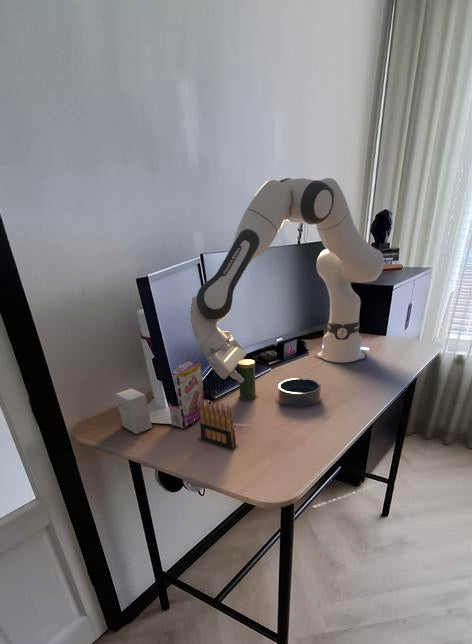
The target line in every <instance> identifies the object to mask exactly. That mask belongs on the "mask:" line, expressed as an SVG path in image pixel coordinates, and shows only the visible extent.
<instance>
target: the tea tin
mask: <svg viewBox="0 0 472 644" xmlns="http://www.w3.org/2000/svg"><path fill="white" fill-rule="evenodd" d="M244 359H245V358H244ZM237 367H238V368H237V369H238V374H240V375H242V376H243V377H244V378H245V380H244V381H243V382H242V383H239V382H238V386H239V398H240V399H241V400H245V401H248V400H254V399H255V398H256V396H257V395H256V361H255V360H254V359H250V358H249V359H247V358H246V359H245V360H240V361H239V362H238V365H237Z"/></svg>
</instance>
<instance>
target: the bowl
mask: <svg viewBox="0 0 472 644" xmlns="http://www.w3.org/2000/svg"><path fill="white" fill-rule="evenodd" d="M277 389H278V390H277V392H278V393H277V401H278V402H279V403H280V405H282V406H286V407H289V408H297V409H300V408H302V409H303V408H309V407H312V406H315V405H317V404H319V403H320V400H321V389H322V384H321V383H320V382H319V381H317V380H314V379H312V378H311V379H310V378H301V377H300V378H299V377H298V378H297V377H296V378H289V379H285V380H283V381H281V382H280V383H278V386H277Z"/></svg>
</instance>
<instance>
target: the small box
mask: <svg viewBox="0 0 472 644" xmlns="http://www.w3.org/2000/svg"><path fill="white" fill-rule="evenodd" d="M115 399H116V404H117V407H118V411H119V416H120V419H121V423H122V427H124V428H125V429H127V430H128V431H130V432H132V433H133V434H135V435H138V434H141V433H143V432H145V431H148V430H150V429H152V428H153V424H152V420H151V415H150V410H149V405H148V400H147V395H146V394H145V393H142V392H141V391H138V390H136V389H134V388H129V389H126V390H123V391H120V392H116V393H115Z"/></svg>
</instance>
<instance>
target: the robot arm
mask: <svg viewBox="0 0 472 644" xmlns="http://www.w3.org/2000/svg"><path fill="white" fill-rule="evenodd" d="M285 221H288V222H291V223H294V224H307V225H311V226H312V225H314V226H315V228H316V230H317V234H318V236H319V237H320V238H319V239H320V241H321V243H322V246H323V247H324V248H325V249H323V250H322V251H321V252H320V254H319V255H318V257H317V260H316V272H317V274H318V276H319V277H320V278H321V279H322V280H323V282H324V284H325V286H326V288H327V291H328V297H329V319H328V321H327V332H326V333H325V334H324V336H323V338H322V345H321V346H322V348H321V351H319V352H318V353H317V355H316V357H317V358H319V359H322V360H325V361H327V362H331V363H351V362H356V361H358V360H363V359H366V355H365V353H364V352H363V350H365V351H369V350H370V348H369V347H364V346H362V341H363V337H362V335H361V334H360V332H359V331H360V327H361V326H360V311H361V298H360V296H359V294H357V293H356V292H355V291H354V289H353V287H352V283H359V284H364V283H370V282H374V281H377V280H378V278H379V277H380V276H381V274H382V273H383V270H384V268H385V267H384V266H385V258H384V254H383V253H382V251H381V250H379V249H377V248H375V247H374V246H372V245H371V244H370V243H369V242H367V240H366V239H365V238H364V237H363V236H362V235H361V233H360V232H359V230H358V229H357V227H356V225H355V222H354V220H353V216H352V214H351V211H350V208H349V204H348V202H347V200H346V197H345V195H344V192H343V190H342V188H341V187H340V185H339V183H338V182H337V180H336V179H334V178H331V177H325V178H322V179H320V180H319V179H317V180H316V179H312V178H305V177H300V178H290V177H287V178H283V179H280V180H276V179H269V180H267V181H266V182H265V183H264V184H263V185H262V186H261V187H260V188H259V190H258V191H257V192H256V193H255V195H254V196H253V198H252V200H251V201H250V202H249V204H248V206H247V207H246V210H245V211H244V213H243V215H242V217H241V219H240V222H239V223H238V226H237V229H236V233H235V235H234V240H233V242H232V244H231V247H230V249H229V251H228V253H227V254H226V256H225V258H224V260H223V261H222V263H221V264H220V267H219V268H218V270H217V271H216V273H215V274H214V276H212V277H211V278H210V279H209V280H207V281H206V282H205V283H203V284H202V285H201V286H200V288H199V289H198V291H197V293H196V295H194V296H191V297H192V304H191V308H190V309H191V311H190V314H191V323H192V328H193V332H194V335H195V337H196V340H197V344H198V347H199V348H200V349H199V348H198V347H197V348H198V349H199V351H200V352H202V353H203V354H204V356H206V359H207V361H208V365H209V366H210V367H211V369H212V370H214V372H215V374H217V375H218V376H219V377H220V378H221V379H223V380H226V379H227V378H228V377H230V378H232V379H233V380H235V381H237V382H238V384H239V383H242V382H243V381H244V380H245V378H244V377H243V376H242V375H240V374H239V372H238V371H237V370H236V368H237V367H238V362H239V361H240V360H245V357H246V356H247V352H246V349H245V348H244V347H243V346H242V345H241V344H240V343H239V341H238V340H236V339H235V338H234V337H233V333H232V332H230V331H229V330H222V329H220V328H219V327H218V324H219V323H220V322H222V321H224V320H225V319H227V317H228V316H229V315H230V313H231V309H232V306H233V300H234V299H233V298H234V292H235V289H236V286H237V285H238V283H239V282H240V279H241V278H242V276H243V274H244V273H245V271H246V269H247V267H248V266H249V265H250V263H251V262H252V261H253V260H254V259H256V258H257V257H260V256H263V255H264V254H265V253H266V251H267V250H268V248H269V247H270V246H271V244H272V243H273V242H274V240H275V239H276V237H277V235H278V233H279V232H280V230H281V228H282V226H283V225H284V222H285Z"/></svg>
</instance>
